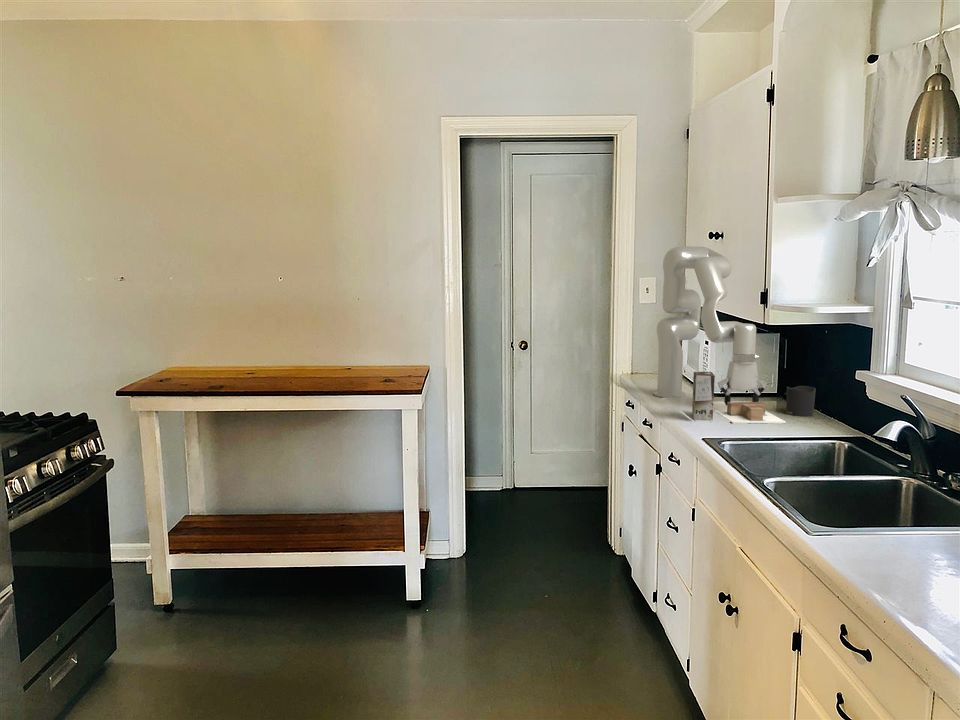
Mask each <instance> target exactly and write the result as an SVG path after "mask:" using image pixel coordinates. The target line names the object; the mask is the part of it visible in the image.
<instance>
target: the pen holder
mask: <svg viewBox="0 0 960 720" xmlns="http://www.w3.org/2000/svg"><path fill="white" fill-rule="evenodd" d="M816 390H817V388H815V387H812V386H808V385H798V386H795V387H790V386H786V405H785V406H786V407H785V409H786V415H788V416H794V417H800V418H801V417H803V418H805V417H806V418H808V417H810V418H812V417H813V415H814V409H815V402H816V401H815V400H816V392H817V391H816Z"/></svg>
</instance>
